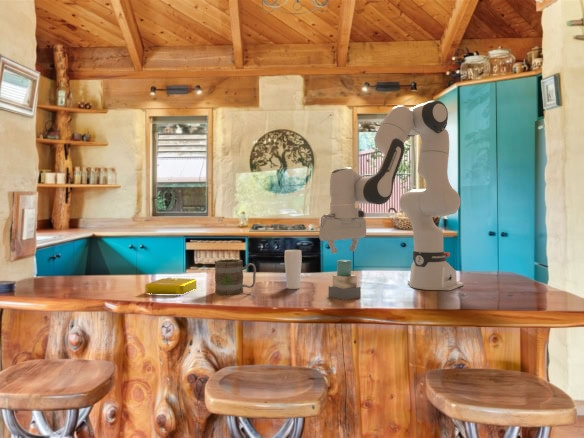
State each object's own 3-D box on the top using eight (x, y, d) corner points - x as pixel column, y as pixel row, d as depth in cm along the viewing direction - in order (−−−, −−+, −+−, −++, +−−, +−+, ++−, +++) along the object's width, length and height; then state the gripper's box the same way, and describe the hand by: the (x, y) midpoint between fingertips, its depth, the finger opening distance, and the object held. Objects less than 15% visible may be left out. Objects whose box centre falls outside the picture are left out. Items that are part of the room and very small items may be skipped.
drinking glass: (304, 289, 159) (303, 251, 159) (287, 290, 157) (287, 251, 157) (298, 286, 165) (298, 249, 165) (282, 287, 163) (282, 250, 163)
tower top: (345, 284, 149) (345, 273, 149) (356, 286, 144) (356, 275, 144) (332, 286, 146) (332, 275, 146) (343, 288, 141) (343, 277, 141)
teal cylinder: (344, 273, 149) (344, 259, 149) (354, 275, 145) (354, 261, 145) (334, 274, 146) (334, 260, 146) (343, 276, 142) (343, 262, 142)
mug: (211, 295, 149) (211, 263, 148) (217, 289, 159) (217, 259, 159) (254, 295, 148) (254, 262, 148) (258, 289, 159) (257, 259, 159)
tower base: (344, 294, 151) (344, 283, 151) (360, 298, 144) (360, 286, 144) (328, 297, 146) (328, 286, 146) (344, 301, 139) (344, 289, 139)
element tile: (143, 296, 151) (143, 283, 151) (163, 288, 166) (163, 276, 165) (180, 297, 148) (180, 284, 148) (198, 289, 163) (198, 277, 162)
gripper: (326, 214, 136) (327, 255, 137) (368, 212, 149) (369, 250, 149) (314, 214, 141) (315, 253, 142) (356, 212, 154) (357, 248, 154)
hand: (343, 251), depth 146 cm, fingers open, 8 cm apart
